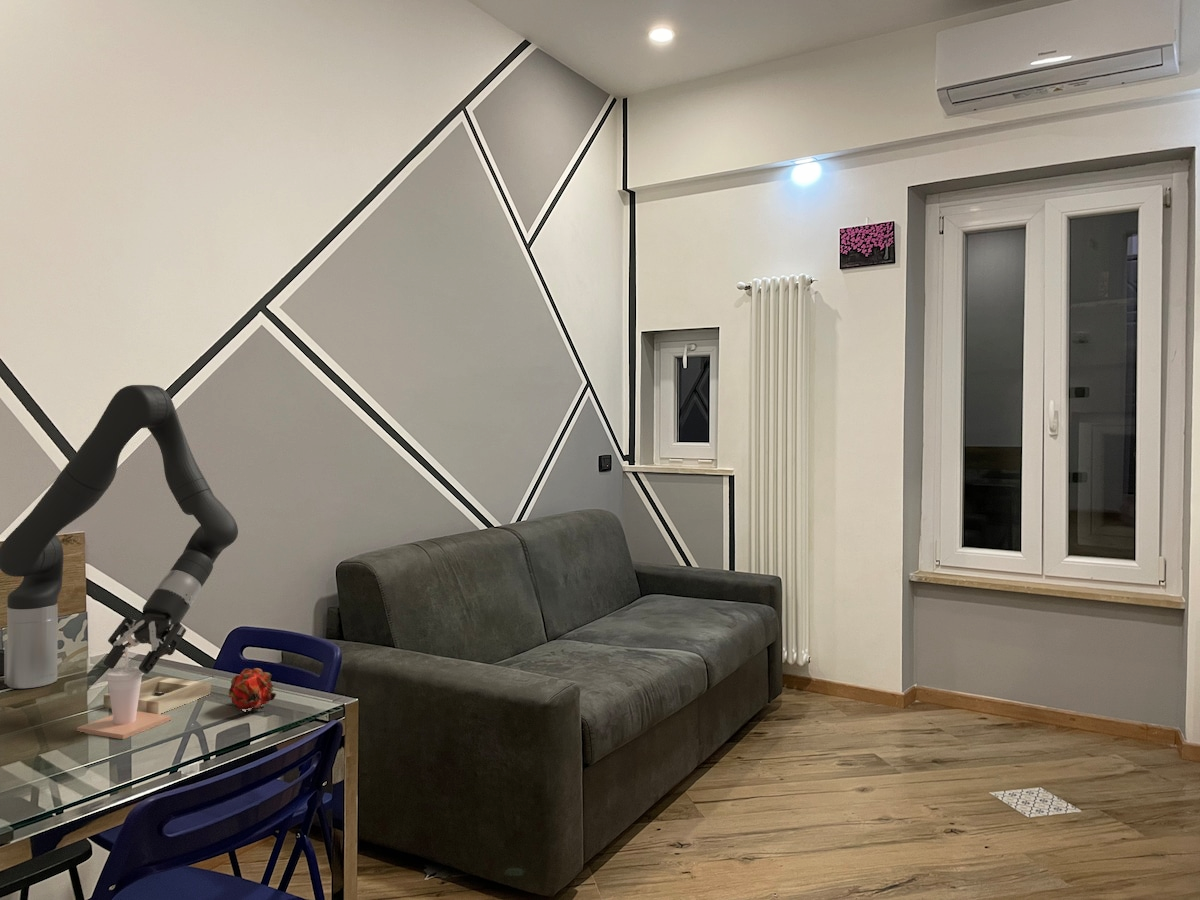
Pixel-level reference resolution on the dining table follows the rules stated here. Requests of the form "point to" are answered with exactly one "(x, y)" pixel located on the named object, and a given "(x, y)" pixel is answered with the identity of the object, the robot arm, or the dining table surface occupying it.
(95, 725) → the coaster
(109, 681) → the smoothie
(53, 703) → the dining table surface
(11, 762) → the dining table surface
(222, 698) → the dining table surface
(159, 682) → the block
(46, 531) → the robot arm
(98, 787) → the dining table surface
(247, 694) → the dragon fruit
